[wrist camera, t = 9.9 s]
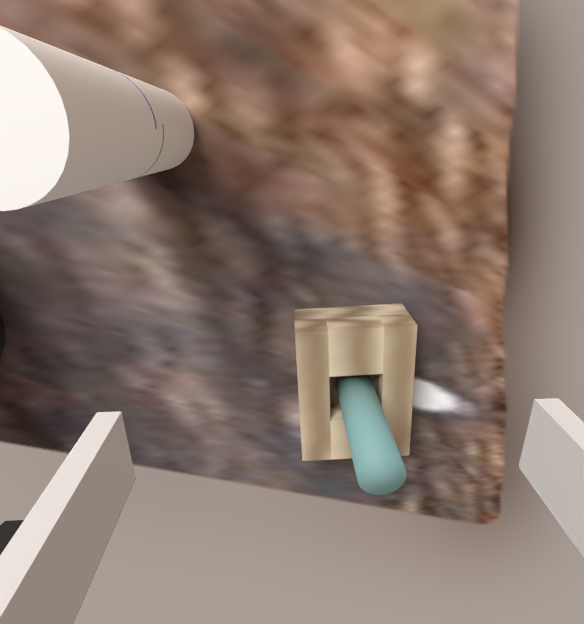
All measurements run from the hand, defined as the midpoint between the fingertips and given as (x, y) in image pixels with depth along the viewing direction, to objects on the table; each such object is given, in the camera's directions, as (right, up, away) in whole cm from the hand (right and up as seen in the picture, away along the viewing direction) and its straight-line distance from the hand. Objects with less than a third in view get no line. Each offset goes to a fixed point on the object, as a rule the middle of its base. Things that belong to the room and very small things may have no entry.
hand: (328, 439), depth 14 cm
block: (+5, -3, +36) cm, 37 cm away
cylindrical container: (-14, +21, +26) cm, 37 cm away
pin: (+6, -4, +33) cm, 34 cm away
